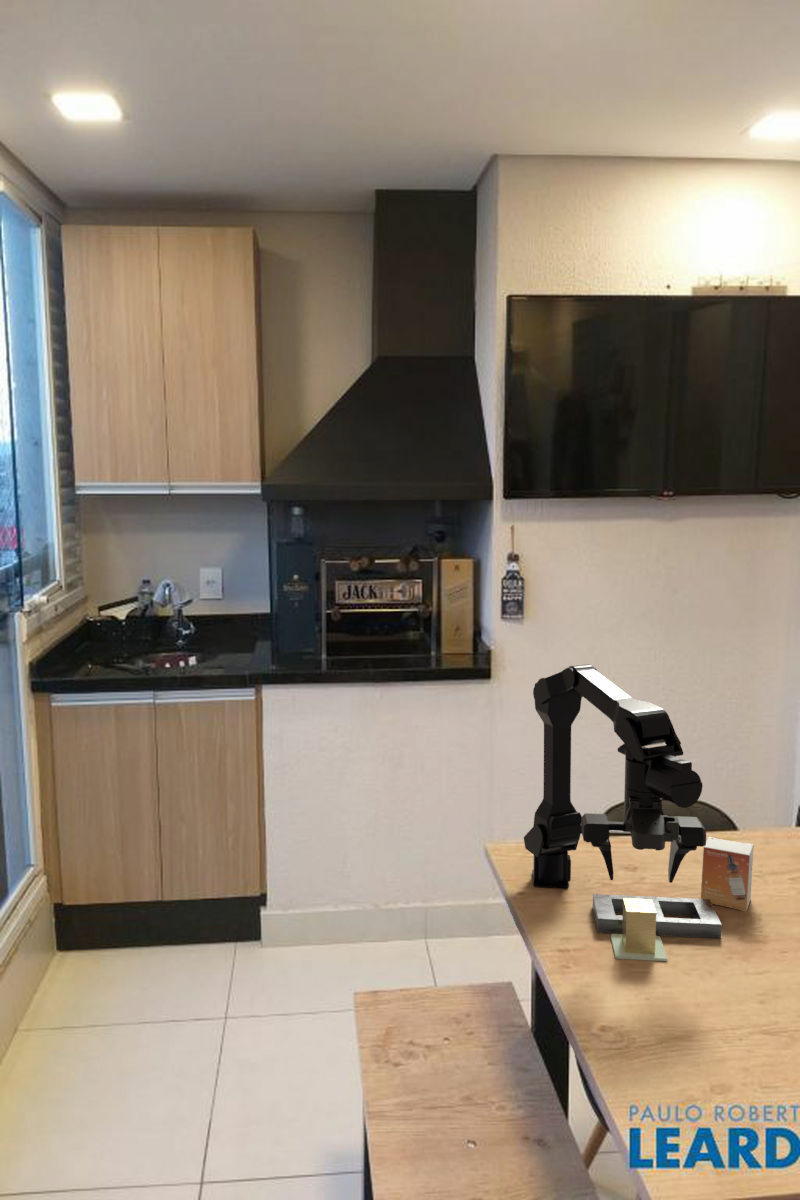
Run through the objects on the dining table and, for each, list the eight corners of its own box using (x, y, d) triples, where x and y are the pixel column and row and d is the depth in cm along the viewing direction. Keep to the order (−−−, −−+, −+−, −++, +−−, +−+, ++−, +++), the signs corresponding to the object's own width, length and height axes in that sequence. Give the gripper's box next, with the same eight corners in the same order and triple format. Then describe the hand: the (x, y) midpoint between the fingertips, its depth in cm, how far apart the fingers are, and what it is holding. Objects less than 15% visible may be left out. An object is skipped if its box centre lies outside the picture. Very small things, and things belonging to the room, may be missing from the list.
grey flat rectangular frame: (597, 932, 151) (598, 918, 151) (592, 907, 160) (593, 894, 160) (721, 938, 149) (721, 924, 149) (709, 912, 158) (709, 899, 158)
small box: (699, 902, 162) (702, 846, 160) (705, 889, 167) (707, 835, 165) (747, 912, 158) (750, 855, 157) (751, 898, 163) (754, 843, 162)
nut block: (625, 952, 144) (626, 911, 143) (621, 938, 149) (623, 898, 148) (654, 954, 144) (656, 912, 143) (650, 939, 148) (651, 899, 147)
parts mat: (615, 958, 143) (615, 956, 143) (610, 936, 150) (610, 934, 150) (667, 961, 142) (667, 958, 142) (659, 938, 149) (660, 936, 149)
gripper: (587, 802, 136) (585, 901, 138) (716, 806, 134) (712, 906, 136) (581, 778, 147) (580, 869, 149) (700, 781, 144) (696, 874, 147)
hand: (640, 880), depth 145 cm, fingers open, 9 cm apart
